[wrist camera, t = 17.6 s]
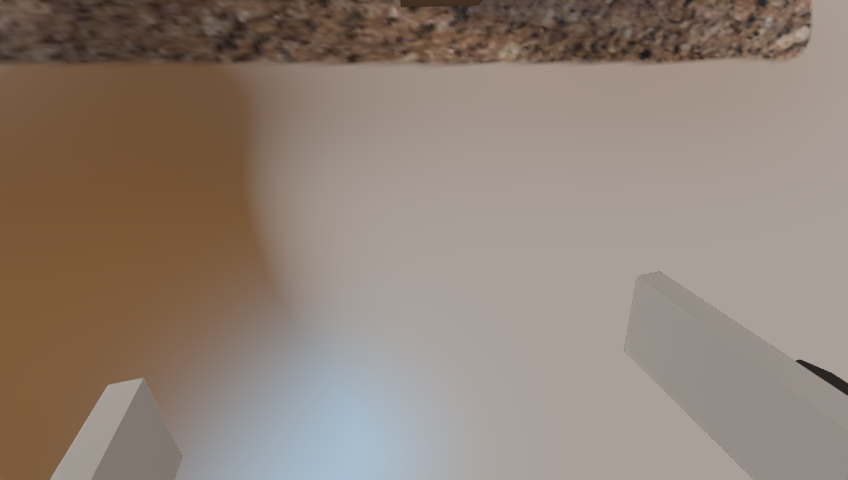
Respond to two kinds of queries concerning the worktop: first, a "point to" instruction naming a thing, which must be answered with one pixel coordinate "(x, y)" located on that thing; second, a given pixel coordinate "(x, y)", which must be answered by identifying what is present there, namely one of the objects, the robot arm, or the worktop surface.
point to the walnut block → (438, 3)
